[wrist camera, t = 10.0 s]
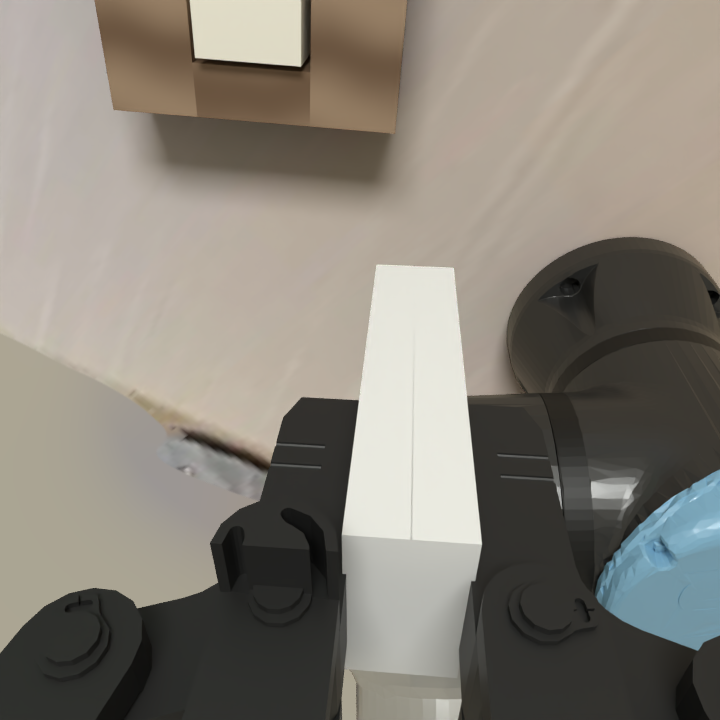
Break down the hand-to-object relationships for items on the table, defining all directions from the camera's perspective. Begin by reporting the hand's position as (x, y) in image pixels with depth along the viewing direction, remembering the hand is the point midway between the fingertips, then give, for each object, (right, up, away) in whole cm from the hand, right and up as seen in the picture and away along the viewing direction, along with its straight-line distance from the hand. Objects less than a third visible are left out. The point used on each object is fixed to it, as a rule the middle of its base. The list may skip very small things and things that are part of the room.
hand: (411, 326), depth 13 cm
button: (-6, +20, +21) cm, 30 cm away
